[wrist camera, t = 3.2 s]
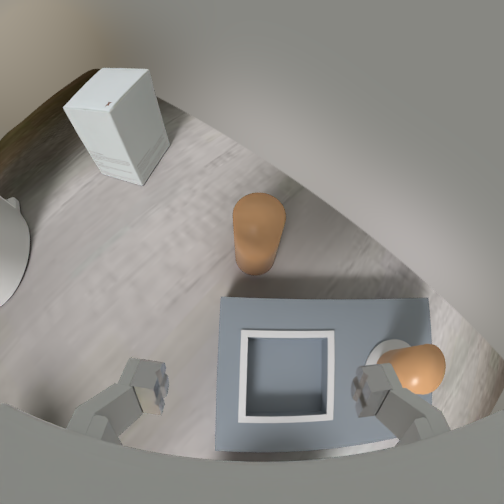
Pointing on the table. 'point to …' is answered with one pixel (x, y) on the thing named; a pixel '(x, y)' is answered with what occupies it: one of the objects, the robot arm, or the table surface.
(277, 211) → the orange smooth rounded part
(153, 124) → the supplement box
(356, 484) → the robot arm
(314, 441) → the grey peg board
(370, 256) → the table surface
